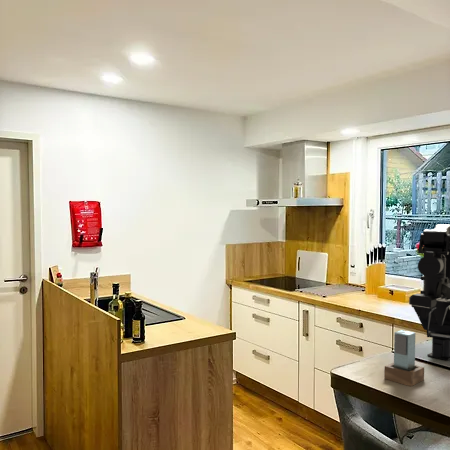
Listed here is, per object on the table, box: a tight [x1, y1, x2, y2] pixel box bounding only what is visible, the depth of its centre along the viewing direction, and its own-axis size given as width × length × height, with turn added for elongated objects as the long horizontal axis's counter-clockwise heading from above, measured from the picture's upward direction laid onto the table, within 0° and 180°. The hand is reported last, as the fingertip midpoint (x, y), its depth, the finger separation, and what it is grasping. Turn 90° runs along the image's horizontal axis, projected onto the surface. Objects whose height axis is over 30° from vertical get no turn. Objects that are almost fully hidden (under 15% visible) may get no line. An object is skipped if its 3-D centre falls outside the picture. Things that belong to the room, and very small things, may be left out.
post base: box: [383, 362, 425, 387], centre depth 128 cm, size 8×8×4 cm
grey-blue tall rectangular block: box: [393, 329, 416, 372], centre depth 128 cm, size 4×4×13 cm
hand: (433, 327), depth 134 cm, fingers open, 9 cm apart
